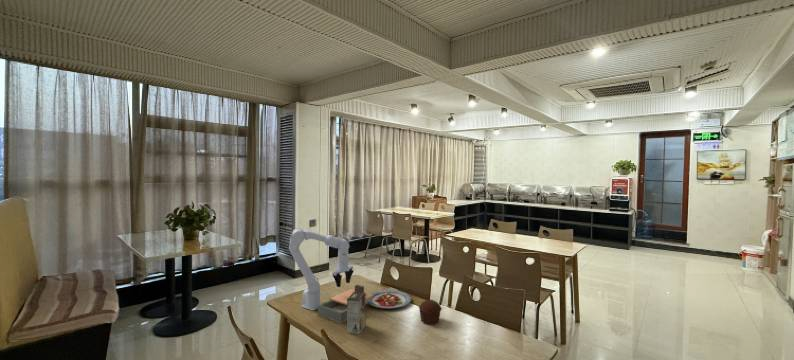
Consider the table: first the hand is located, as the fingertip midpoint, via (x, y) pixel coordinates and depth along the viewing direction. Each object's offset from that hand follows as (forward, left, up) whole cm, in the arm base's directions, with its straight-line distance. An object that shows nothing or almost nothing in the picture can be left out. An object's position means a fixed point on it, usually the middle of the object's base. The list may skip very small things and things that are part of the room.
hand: (343, 284), depth 188 cm
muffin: (+51, +8, -11) cm, 53 cm away
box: (+8, -11, -10) cm, 17 cm away
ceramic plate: (+20, +16, -11) cm, 28 cm away
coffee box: (+26, -19, -11) cm, 34 cm away
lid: (+8, -2, -5) cm, 10 cm away
